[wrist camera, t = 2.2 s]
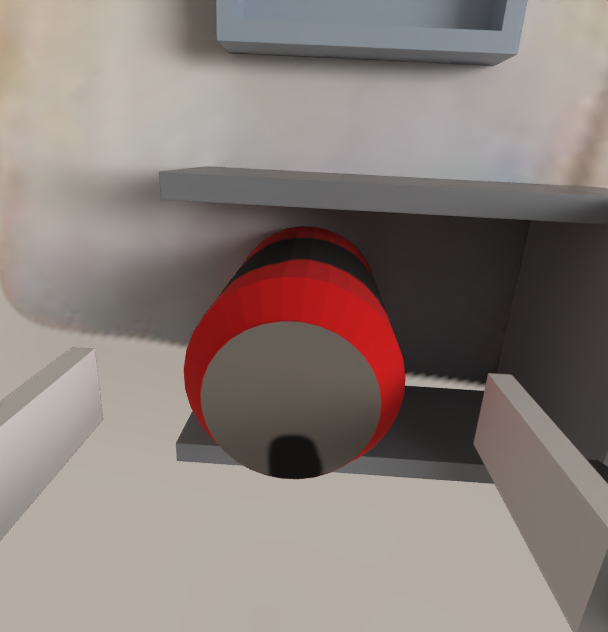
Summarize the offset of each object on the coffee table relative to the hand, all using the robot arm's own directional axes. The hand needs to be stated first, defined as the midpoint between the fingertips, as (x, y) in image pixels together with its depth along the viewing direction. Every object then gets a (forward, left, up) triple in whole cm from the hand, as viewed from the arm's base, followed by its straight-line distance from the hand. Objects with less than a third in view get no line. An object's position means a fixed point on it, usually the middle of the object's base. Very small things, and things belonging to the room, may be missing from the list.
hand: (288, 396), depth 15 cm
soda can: (0, 0, -11) cm, 11 cm away
